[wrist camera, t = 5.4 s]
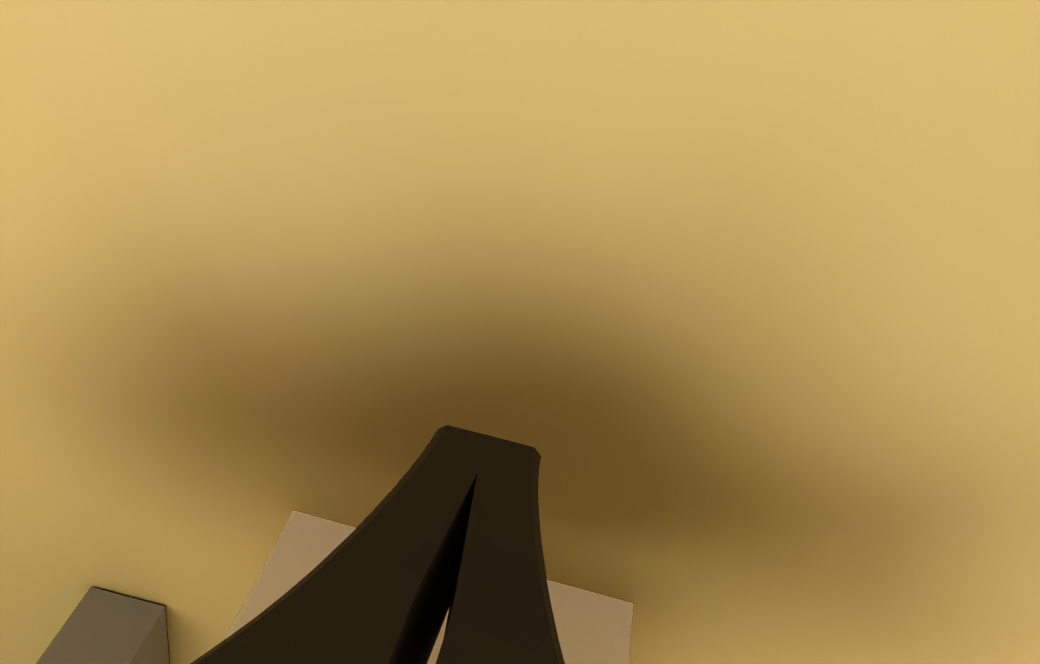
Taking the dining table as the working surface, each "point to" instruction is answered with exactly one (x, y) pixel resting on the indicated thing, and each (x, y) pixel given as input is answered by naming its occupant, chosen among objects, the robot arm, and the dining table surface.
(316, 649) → the robot arm
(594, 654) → the beige cube
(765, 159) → the dining table surface
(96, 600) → the comb rack
